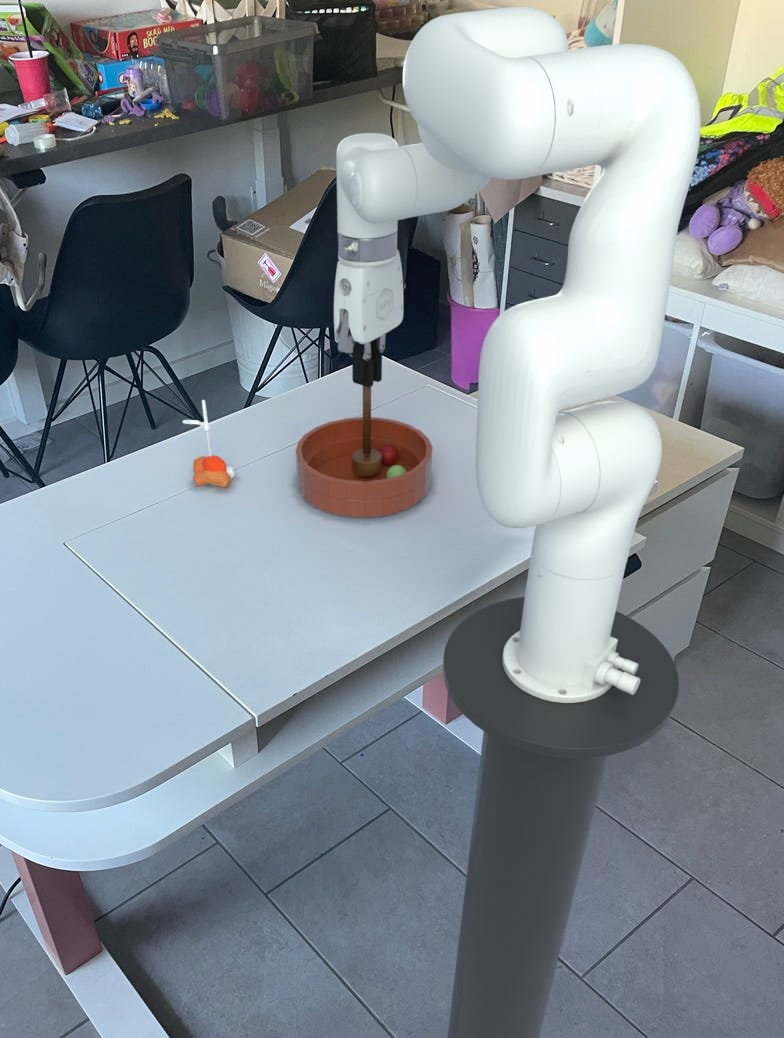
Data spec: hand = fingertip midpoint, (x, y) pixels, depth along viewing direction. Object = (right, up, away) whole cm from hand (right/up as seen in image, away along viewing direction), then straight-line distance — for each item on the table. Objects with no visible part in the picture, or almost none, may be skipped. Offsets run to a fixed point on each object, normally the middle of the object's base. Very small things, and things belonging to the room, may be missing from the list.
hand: (367, 381), depth 131 cm
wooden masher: (+1, -11, +9) cm, 14 cm away
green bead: (+5, -12, +6) cm, 14 cm away
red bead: (+4, -8, +11) cm, 14 cm away
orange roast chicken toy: (-23, -12, +12) cm, 28 cm away
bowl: (0, -13, +9) cm, 16 cm away
